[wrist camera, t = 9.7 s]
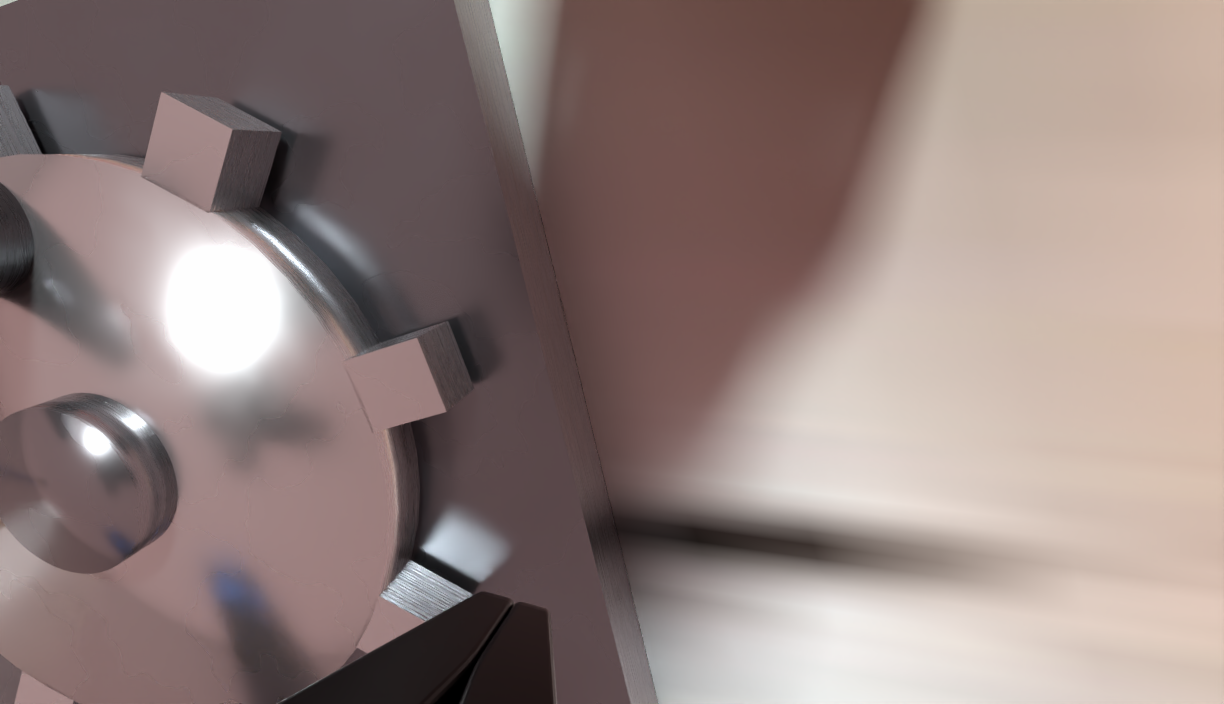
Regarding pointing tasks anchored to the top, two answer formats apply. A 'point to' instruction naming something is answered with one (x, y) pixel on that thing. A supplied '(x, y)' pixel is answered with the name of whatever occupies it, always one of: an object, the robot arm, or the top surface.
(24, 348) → the sprocket
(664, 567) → the top surface
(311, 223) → the index base
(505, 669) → the robot arm
